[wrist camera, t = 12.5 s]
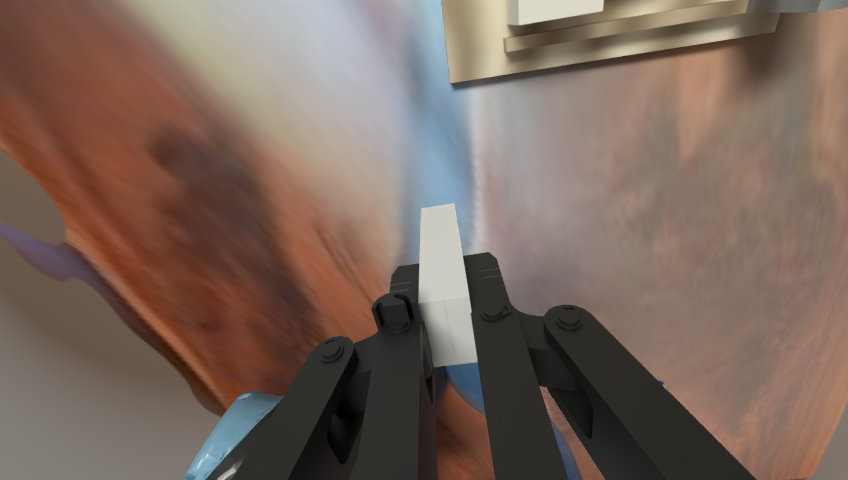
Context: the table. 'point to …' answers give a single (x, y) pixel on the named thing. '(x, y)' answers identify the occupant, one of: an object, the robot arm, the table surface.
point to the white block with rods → (548, 10)
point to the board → (600, 31)
